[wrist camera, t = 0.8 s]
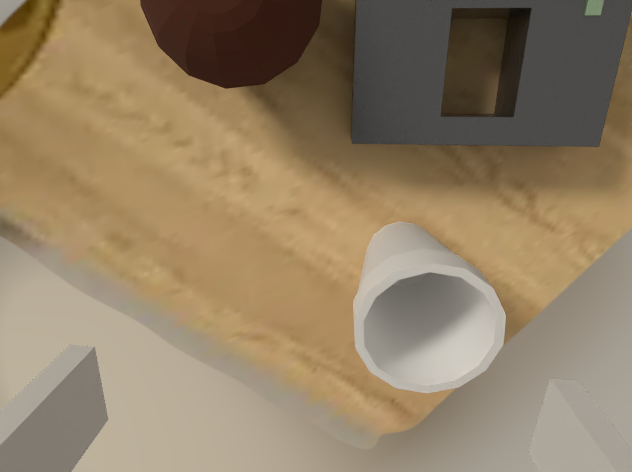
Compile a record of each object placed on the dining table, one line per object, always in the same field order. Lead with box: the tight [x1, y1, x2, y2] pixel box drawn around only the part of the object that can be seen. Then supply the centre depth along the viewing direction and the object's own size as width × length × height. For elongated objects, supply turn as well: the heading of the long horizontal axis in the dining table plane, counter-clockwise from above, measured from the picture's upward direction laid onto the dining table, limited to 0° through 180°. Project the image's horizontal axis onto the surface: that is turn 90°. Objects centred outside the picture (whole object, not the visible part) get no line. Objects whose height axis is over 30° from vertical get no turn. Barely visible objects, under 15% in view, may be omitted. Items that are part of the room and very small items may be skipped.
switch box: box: [351, 0, 632, 147], centre depth 30 cm, size 18×11×4 cm, turn 90°
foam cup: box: [353, 221, 506, 393], centre depth 31 cm, size 10×9×13 cm
